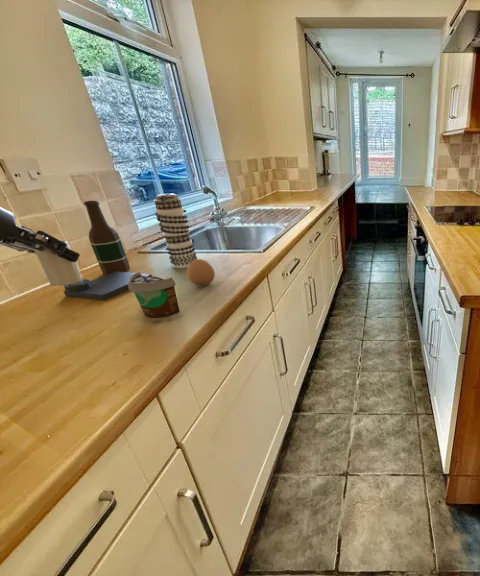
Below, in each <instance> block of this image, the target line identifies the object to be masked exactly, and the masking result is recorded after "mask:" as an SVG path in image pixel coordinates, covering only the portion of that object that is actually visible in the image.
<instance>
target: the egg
mask: <svg viewBox="0 0 480 576" xmlns="http://www.w3.org/2000/svg"><path fill="white" fill-rule="evenodd" d="M186 274H187V278H188V281H189V282H190V283H191V284H193V285H195V286H197V287H206V286H209V285H210V284H212V282H213V281H214V279H215V277H216V274H215V269H214V267H213V266H212V265H211V263H210V262H209V261H207V260H205V259H201V258H197V260H194V261H192V262H191V263H190V265H189V267H187V270H186Z"/></svg>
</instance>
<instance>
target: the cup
mask: <svg viewBox="0 0 480 576" xmlns="http://www.w3.org/2000/svg"><path fill="white" fill-rule="evenodd" d="M59 240H60V241H62V242H64V243H66V244H67V246H66V248H68V249H70V250H72V248H71V247H70V245H69V241H68V240H65V239H59ZM35 247H37V248H39V245H36V246H35ZM35 253H36V254H35V256H36V257H37V259H38V262H39V264H40V266H41V268H42V270H43V273H44V275H45V277H46V279H47V281H48V283H49V285H50V286H52V287H64V285H69V284H73V283H76V282H78V281H80V280H83V276H82V273H81V271H80V269H79V265H78V264H77V261H76V262H71V261H68V260H66V259H64V258H61V257H59V256H55V255H53V254H50V253H47V252H44V251H43V252H37V251H35Z"/></svg>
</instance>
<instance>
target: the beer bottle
mask: <svg viewBox="0 0 480 576" xmlns="http://www.w3.org/2000/svg"><path fill="white" fill-rule="evenodd" d="M83 206H85V209H86V211H87V215H88V218H89V221H90V226H91V227H90V229H89V232H88V240H89V243H90V246H91V248H92V251H93V253H94V255H95V258H96V260H97V263H98V265H99V268H100V271H101V272H102V274H104V275H107V274H110V273H113V272H116V271H118V272H127V271H128V272H129V270H130V269H131V266H130V262H129V261H128V258H127V254H126V252H125V248H124V246H123V244H122V243H123V242H122V240H121V238H120V236H119V233H118V232H117V231H116V230H115V229H114V228H113V227H112V226H110V224H108V222H107V220H106V218H105V216H104V213H103V212H102V209H101V207H100V202H99V201H98V200H86V201H84V202H83Z"/></svg>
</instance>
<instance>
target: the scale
mask: <svg viewBox="0 0 480 576" xmlns="http://www.w3.org/2000/svg"><path fill="white" fill-rule="evenodd" d="M136 273H137V272H129V271H128V272H127V271H126V272H118V271H116V272H113V273H110V274H104V275H102V276H99V277H96V278H94V279H85V278H84V279H83V278H82V280H83V282H84V283H82V284H79V285H71V284H69V285H63V289H64V290H62V291H63V294H64V296H65V297H66V298H76V299H85V300H94V301H95V300H96V301H107V300H110V299H113V298H114V297H116V296H119V295H121V294H123V293H125V292H128V291H130V290H129V288H128V281H129V278H130V277H131V276H132V275H134V274H136ZM140 273H141V272H140ZM141 276H147V277H153V275H152V274H151V273H143V272H142V273H141Z"/></svg>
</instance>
